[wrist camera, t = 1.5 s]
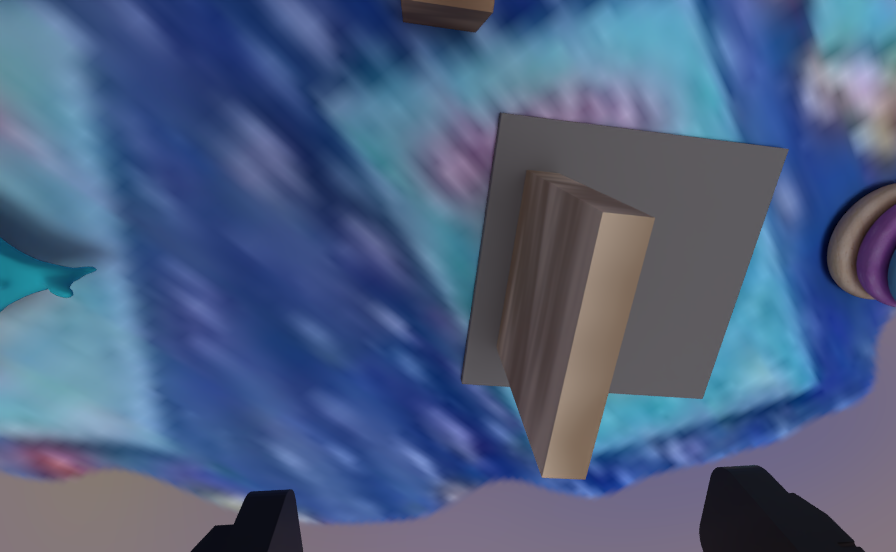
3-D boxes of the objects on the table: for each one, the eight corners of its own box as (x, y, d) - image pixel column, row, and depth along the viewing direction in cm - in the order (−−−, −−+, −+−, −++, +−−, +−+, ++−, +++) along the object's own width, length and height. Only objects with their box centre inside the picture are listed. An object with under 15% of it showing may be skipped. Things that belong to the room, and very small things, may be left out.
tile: (496, 347, 32) (541, 477, 21) (526, 169, 28) (602, 212, 17) (525, 349, 32) (586, 479, 21) (559, 173, 29) (656, 217, 17)
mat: (461, 379, 34) (461, 383, 33) (499, 112, 28) (501, 112, 27) (697, 394, 36) (702, 398, 35) (781, 148, 30) (788, 149, 29)
